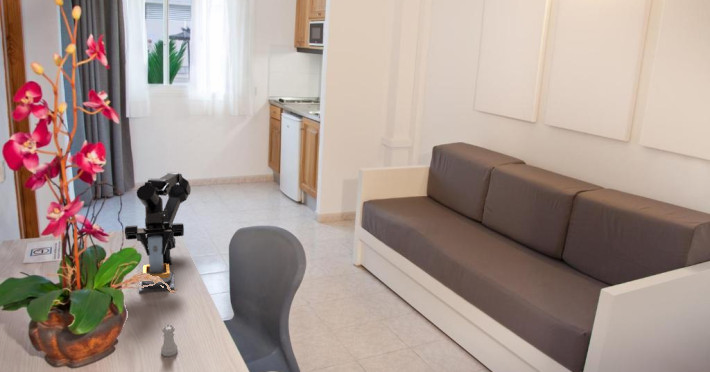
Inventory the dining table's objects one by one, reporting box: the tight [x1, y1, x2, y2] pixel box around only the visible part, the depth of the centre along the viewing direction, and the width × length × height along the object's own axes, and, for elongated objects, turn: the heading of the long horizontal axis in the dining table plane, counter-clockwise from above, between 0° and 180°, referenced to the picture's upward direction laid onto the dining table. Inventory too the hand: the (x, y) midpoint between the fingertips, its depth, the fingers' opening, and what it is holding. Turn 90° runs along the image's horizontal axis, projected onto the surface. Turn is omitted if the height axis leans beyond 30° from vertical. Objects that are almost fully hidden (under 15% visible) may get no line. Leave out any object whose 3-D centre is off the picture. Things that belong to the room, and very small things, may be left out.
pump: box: [147, 235, 163, 274], centre depth 191 cm, size 6×4×12 cm
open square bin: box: [138, 263, 175, 294], centre depth 194 cm, size 11×11×6 cm
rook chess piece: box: [160, 324, 179, 358], centre depth 157 cm, size 4×4×8 cm
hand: (155, 254), depth 191 cm, fingers closed on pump, 4 cm apart
